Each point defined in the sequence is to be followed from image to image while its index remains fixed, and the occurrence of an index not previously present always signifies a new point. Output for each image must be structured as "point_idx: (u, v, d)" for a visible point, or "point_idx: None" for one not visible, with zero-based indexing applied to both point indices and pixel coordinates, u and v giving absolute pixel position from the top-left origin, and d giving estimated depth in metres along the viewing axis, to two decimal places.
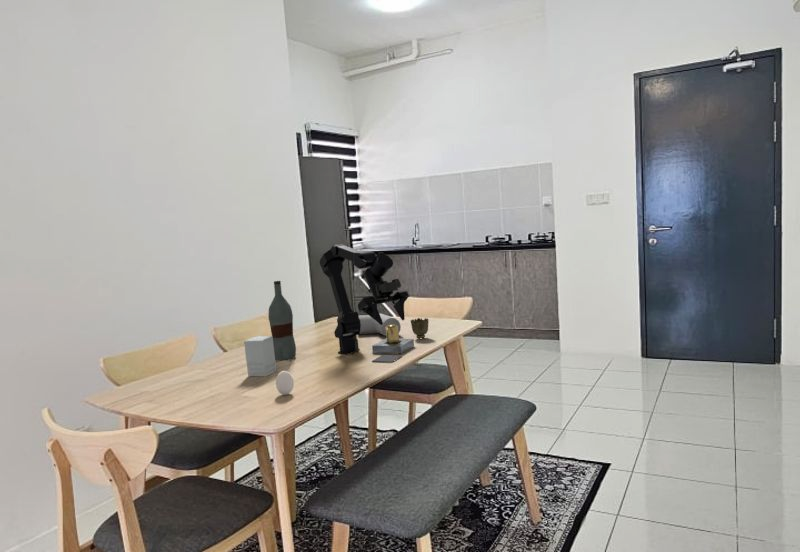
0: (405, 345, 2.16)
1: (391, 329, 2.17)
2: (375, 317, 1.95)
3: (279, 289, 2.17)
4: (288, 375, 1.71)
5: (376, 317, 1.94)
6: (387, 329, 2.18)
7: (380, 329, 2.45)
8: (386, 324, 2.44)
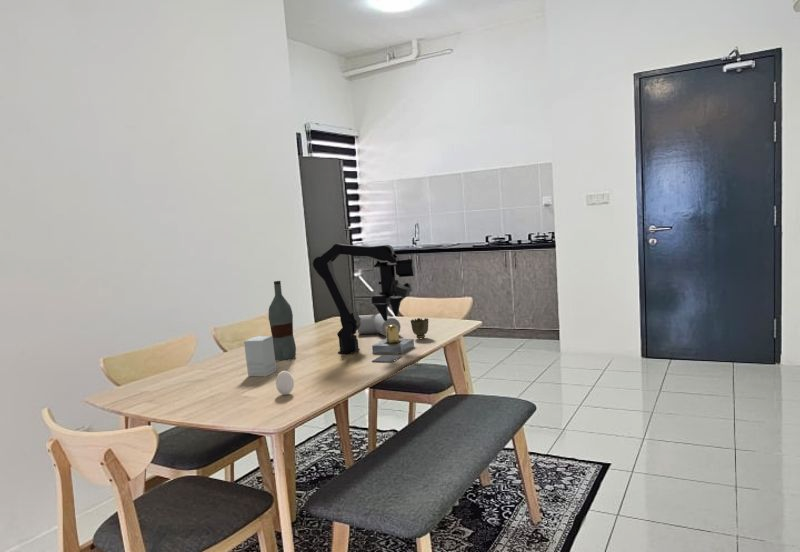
0: (405, 345, 2.16)
1: (391, 329, 2.17)
2: (382, 313, 2.14)
3: (279, 289, 2.17)
4: (288, 375, 1.71)
5: (384, 313, 2.14)
6: (387, 329, 2.18)
7: (380, 329, 2.45)
8: (386, 324, 2.44)
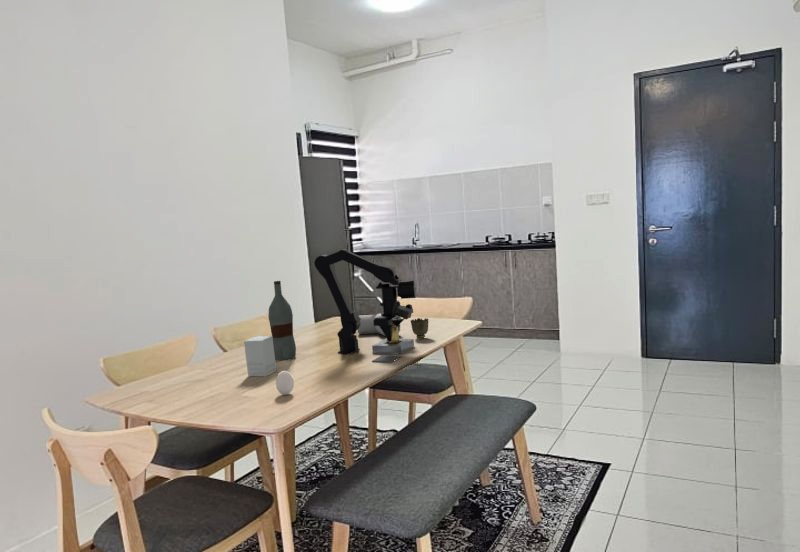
0: (405, 345, 2.16)
1: None
2: (387, 333, 2.17)
3: (279, 289, 2.17)
4: (288, 375, 1.71)
5: (388, 334, 2.17)
6: None
7: (380, 329, 2.45)
8: None
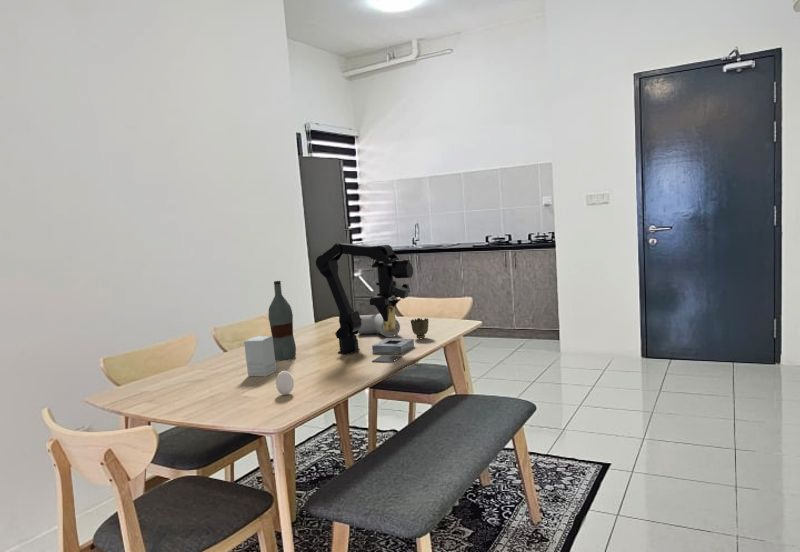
0: (405, 345, 2.16)
1: None
2: (383, 313, 2.11)
3: (279, 289, 2.17)
4: (288, 375, 1.71)
5: (384, 314, 2.10)
6: None
7: (379, 329, 2.45)
8: None
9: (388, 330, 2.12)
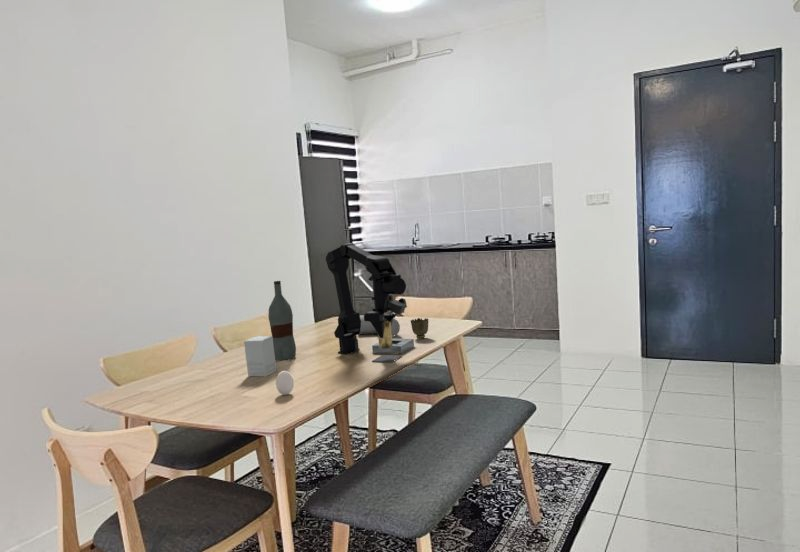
0: (405, 345, 2.16)
1: None
2: (378, 329, 2.02)
3: (279, 289, 2.17)
4: (288, 375, 1.71)
5: (379, 330, 2.02)
6: None
7: None
8: None
9: (383, 347, 2.03)
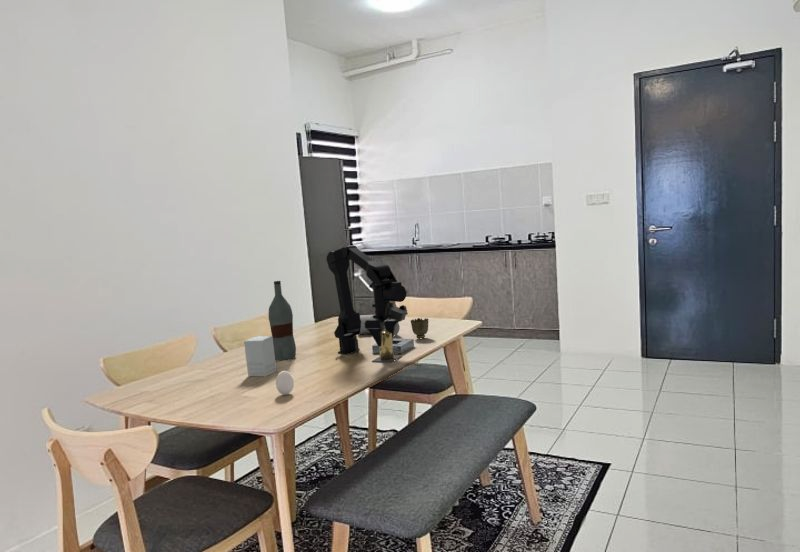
0: (405, 345, 2.16)
1: (384, 336, 2.03)
2: (376, 338, 2.00)
3: (279, 289, 2.17)
4: (288, 375, 1.71)
5: (378, 338, 2.00)
6: None
7: None
8: None
9: (385, 358, 2.04)
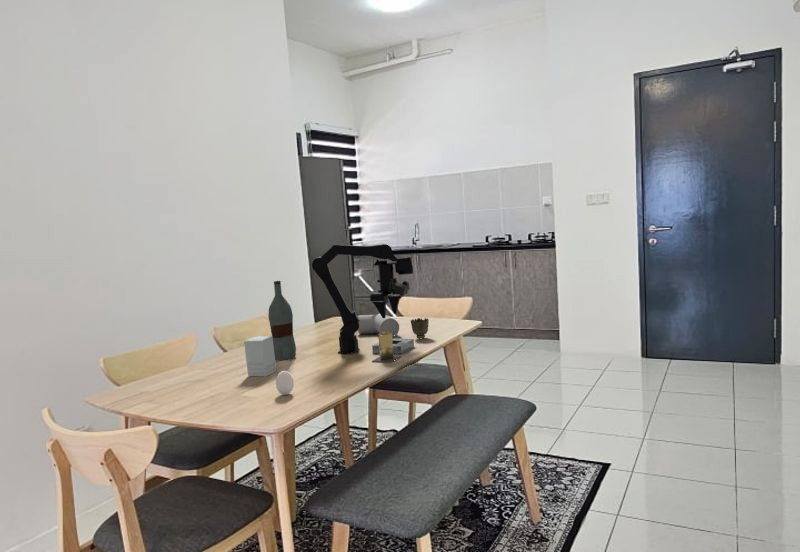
0: (405, 345, 2.16)
1: (384, 336, 2.03)
2: (381, 310, 2.18)
3: (279, 289, 2.17)
4: (288, 375, 1.71)
5: (382, 311, 2.18)
6: (380, 336, 2.04)
7: (379, 329, 2.45)
8: (385, 324, 2.44)
9: (385, 358, 2.04)
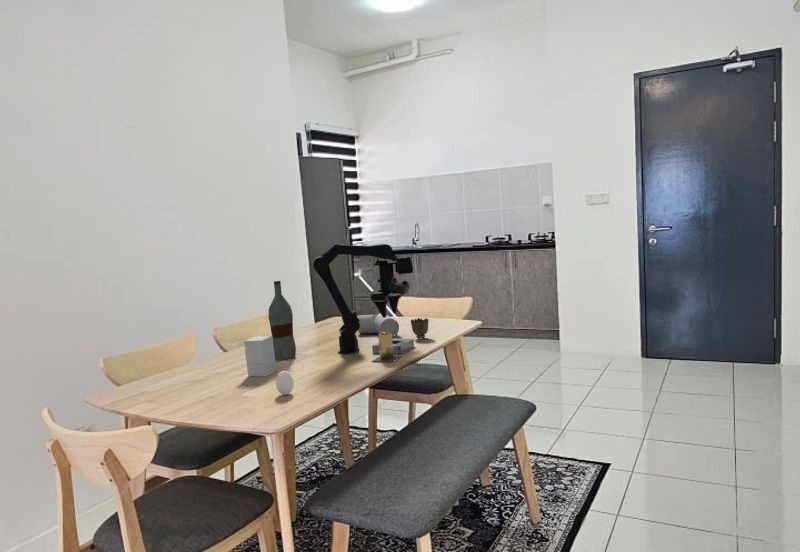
0: (405, 345, 2.16)
1: (384, 336, 2.03)
2: (381, 310, 2.20)
3: (279, 289, 2.17)
4: (288, 375, 1.71)
5: (382, 310, 2.20)
6: (380, 336, 2.04)
7: (378, 329, 2.45)
8: (384, 324, 2.44)
9: (385, 358, 2.04)
